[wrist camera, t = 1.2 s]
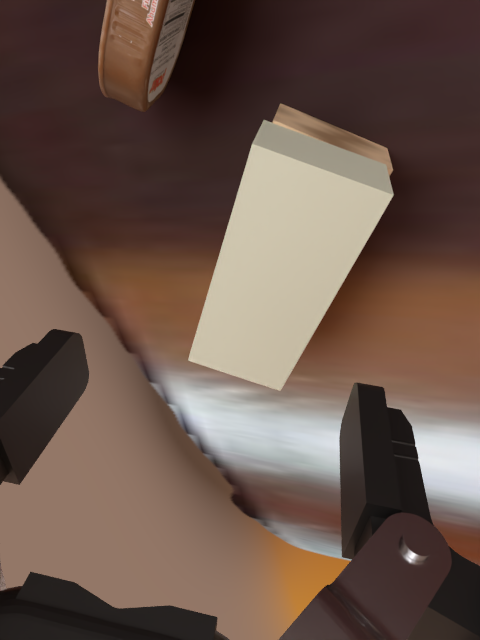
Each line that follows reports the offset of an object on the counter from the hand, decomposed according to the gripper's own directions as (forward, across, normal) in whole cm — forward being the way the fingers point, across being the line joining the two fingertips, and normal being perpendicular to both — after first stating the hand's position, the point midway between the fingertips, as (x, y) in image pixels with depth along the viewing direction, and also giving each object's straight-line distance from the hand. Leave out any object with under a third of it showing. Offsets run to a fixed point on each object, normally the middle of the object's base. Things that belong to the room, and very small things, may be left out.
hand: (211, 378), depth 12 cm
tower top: (+20, 0, +6) cm, 20 cm away
